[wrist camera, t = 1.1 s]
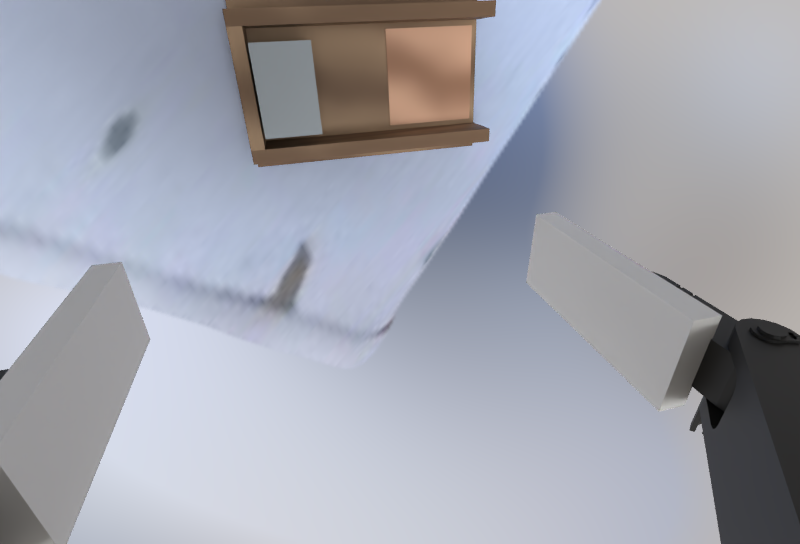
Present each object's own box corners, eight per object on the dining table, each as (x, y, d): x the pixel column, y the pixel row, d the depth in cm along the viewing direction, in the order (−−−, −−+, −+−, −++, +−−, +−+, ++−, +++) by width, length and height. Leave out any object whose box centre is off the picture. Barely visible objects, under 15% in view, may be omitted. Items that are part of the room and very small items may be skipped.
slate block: (251, 43, 32) (247, 42, 27) (306, 41, 33) (310, 39, 28) (267, 128, 35) (265, 139, 30) (317, 123, 35) (322, 134, 31)
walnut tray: (226, -2, 31) (218, -10, 27) (470, -8, 35) (496, -17, 31) (259, 162, 37) (256, 177, 33) (465, 142, 41) (488, 153, 36)
